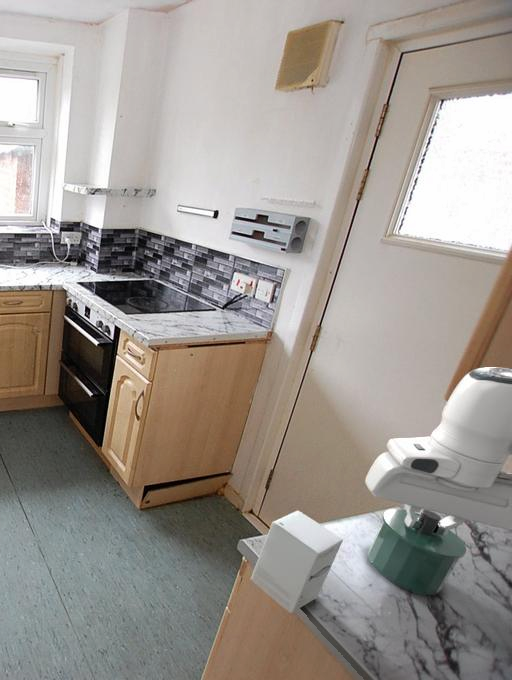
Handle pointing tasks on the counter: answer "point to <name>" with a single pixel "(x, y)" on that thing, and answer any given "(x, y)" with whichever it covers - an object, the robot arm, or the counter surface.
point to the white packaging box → (295, 560)
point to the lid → (424, 534)
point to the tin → (408, 564)
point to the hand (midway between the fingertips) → (423, 529)
